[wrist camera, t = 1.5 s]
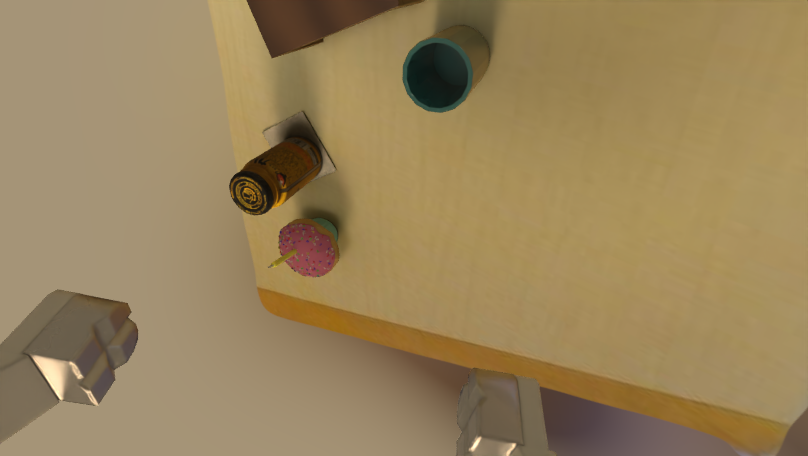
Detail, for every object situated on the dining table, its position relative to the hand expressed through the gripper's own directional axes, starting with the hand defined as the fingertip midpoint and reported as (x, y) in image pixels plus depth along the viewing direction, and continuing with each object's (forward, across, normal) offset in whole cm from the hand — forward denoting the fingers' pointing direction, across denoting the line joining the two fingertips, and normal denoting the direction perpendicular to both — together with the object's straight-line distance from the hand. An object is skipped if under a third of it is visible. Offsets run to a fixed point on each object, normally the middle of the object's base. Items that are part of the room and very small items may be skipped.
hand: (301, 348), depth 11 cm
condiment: (+44, +12, +23) cm, 51 cm away
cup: (+42, -5, +7) cm, 43 cm away
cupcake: (+42, +8, +34) cm, 54 cm away
